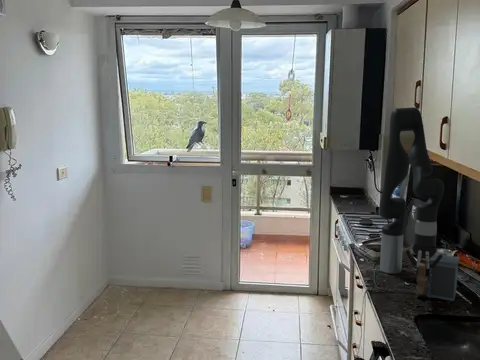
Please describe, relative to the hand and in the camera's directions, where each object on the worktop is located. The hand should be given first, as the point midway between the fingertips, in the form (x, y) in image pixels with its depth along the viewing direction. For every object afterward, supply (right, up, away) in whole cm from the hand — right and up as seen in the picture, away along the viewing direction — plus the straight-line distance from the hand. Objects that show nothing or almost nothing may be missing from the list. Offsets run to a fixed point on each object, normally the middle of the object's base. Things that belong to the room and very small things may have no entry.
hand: (422, 276), depth 183 cm
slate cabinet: (+8, -9, +8) cm, 15 cm away
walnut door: (0, -5, +1) cm, 5 cm away
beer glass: (+14, -8, +18) cm, 24 cm away
